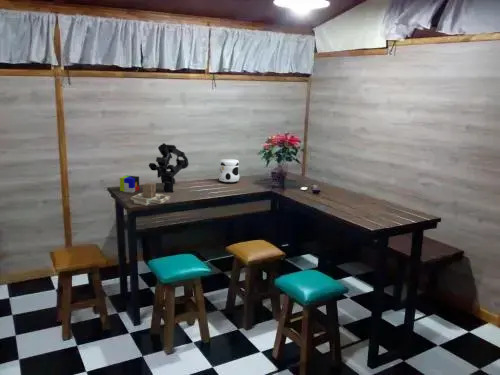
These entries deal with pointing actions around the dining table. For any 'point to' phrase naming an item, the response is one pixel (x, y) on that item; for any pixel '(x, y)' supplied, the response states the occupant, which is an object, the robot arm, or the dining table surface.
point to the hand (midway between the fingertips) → (158, 177)
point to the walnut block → (149, 190)
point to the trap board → (144, 201)
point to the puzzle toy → (129, 183)
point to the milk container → (229, 170)
